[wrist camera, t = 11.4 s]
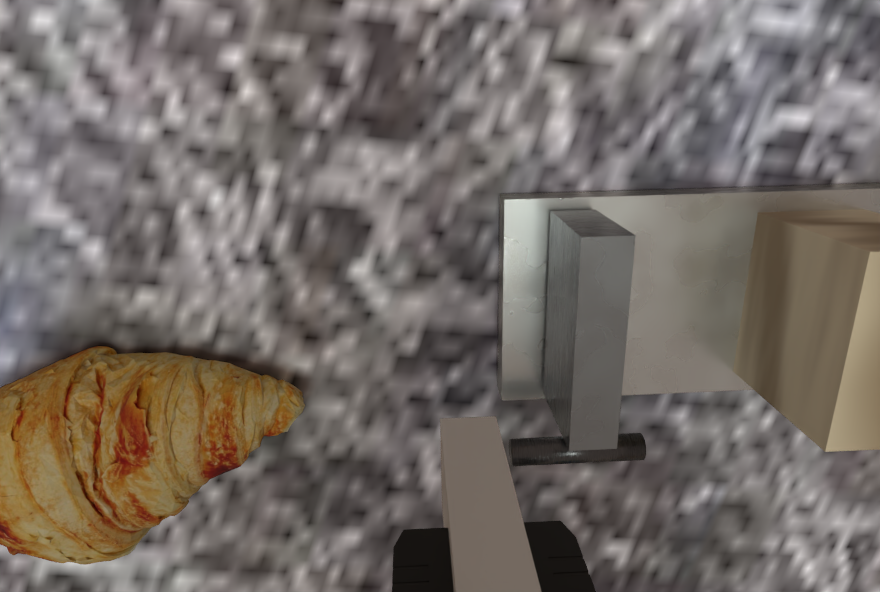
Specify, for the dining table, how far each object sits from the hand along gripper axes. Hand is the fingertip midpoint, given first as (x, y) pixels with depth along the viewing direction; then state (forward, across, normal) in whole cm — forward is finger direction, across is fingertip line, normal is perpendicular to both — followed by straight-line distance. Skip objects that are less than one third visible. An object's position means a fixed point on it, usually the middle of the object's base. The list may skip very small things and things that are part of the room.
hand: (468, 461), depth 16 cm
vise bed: (+14, +15, 0) cm, 20 cm away
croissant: (+14, -17, -7) cm, 23 cm away
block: (+12, +17, 0) cm, 21 cm away
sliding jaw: (+12, +6, -1) cm, 13 cm away
